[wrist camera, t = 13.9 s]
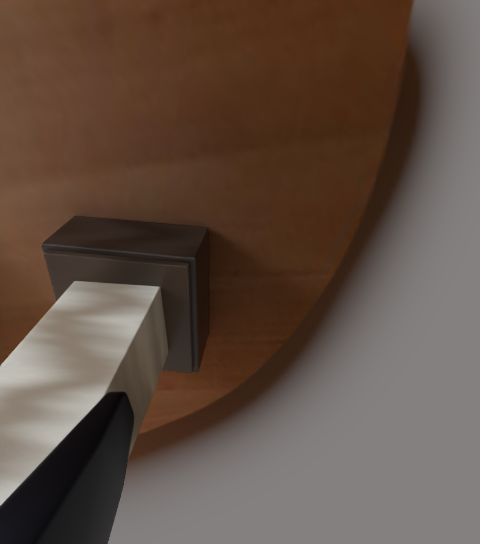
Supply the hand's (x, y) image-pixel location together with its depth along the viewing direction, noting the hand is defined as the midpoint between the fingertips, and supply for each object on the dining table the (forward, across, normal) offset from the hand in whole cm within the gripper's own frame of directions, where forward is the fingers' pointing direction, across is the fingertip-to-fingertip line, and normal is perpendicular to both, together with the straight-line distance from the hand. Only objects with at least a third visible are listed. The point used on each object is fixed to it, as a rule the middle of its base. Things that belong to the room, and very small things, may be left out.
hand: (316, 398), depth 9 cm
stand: (+14, +9, +6) cm, 17 cm away
